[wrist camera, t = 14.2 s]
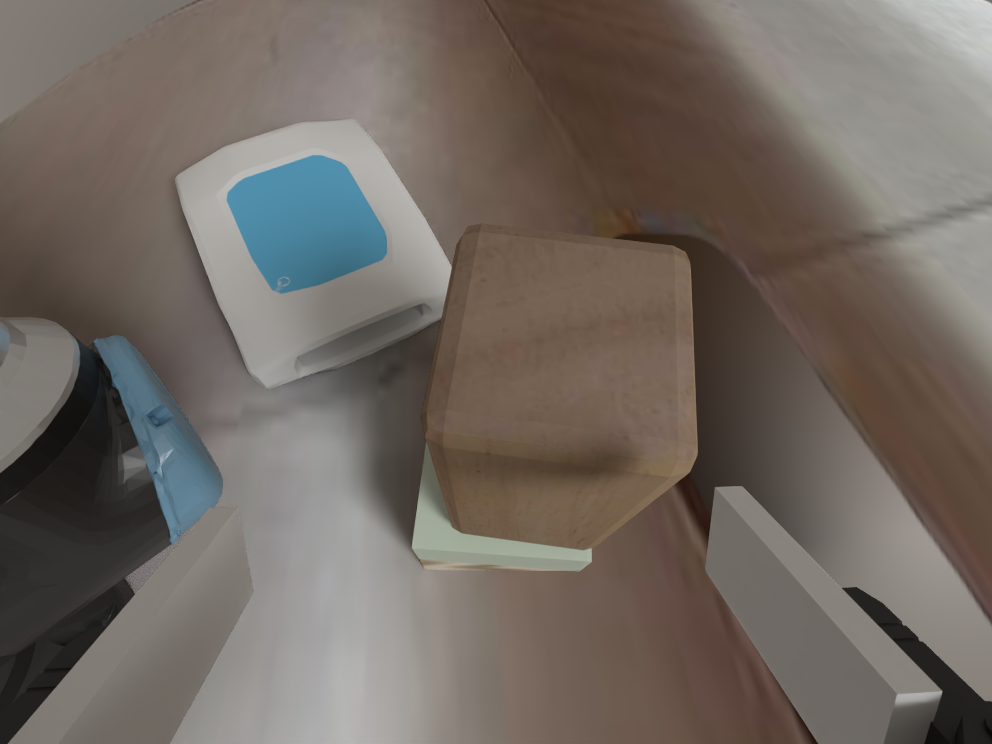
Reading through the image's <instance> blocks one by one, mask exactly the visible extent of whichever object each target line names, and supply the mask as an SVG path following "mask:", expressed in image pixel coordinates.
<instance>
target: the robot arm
mask: <svg viewBox="0 0 992 744" xmlns="http://www.w3.org/2000/svg"><path fill="white" fill-rule="evenodd" d="M222 488H223V479H222V475H221V473H220V471H219V469H218V467H217V465H216V463H215V462H214V460H213V458H212V456H211V455H210V453H209V451H208V450H207V448H206V446H205V445H204V443H203V442H202V440H201V438H200V437H199V435H198V434H197V432H196V431H195V429H194V428H193V426H192V425H191V423H190V422H189V420H188V419H187V417H186V416H185V414H184V413H183V411H182V410H181V408H180V407H179V405H178V404H177V403H176V401H175V400H174V398H173V397H172V396H171V394H170V393H169V391H168V390H167V388H166V387H165V386H164V384H163V383H162V381H161V380H160V379H159V377H158V376H157V374H156V373H155V372H154V370H153V369H152V368H151V366H150V365H149V364H148V362H147V361H146V360H145V359H144V357H143V356H142V355H141V353H140V352H139V351H138V350H137V349H136V348H135V346H134V345H133V344H131V343H130V342H129V341H128V339H126V338H125V337H123V336H121V335H112V336H109V337H106V338H100V339H98V338H97V339H96V340H94V341H93V343H92V344H91V345H90V346H89V347H88V348H87V347H86V346H85V345H84V344H82V343H81V342H80V341H79V340H78V339H77V338H76V337H74V336H73V335H72V334H71V333H70V332H69V331H67V330H66V329H65V328H63V327H62V326H60V325H59V324H57V323H56V322H53V321H50V320H47V319H43V318H35V317H0V744H170V742H171V740H172V738H173V737H174V735H175V733H176V731H177V729H178V727H179V726H180V724H181V722H182V720H183V718H184V717H185V715H186V713H187V711H188V709H189V708H190V706H191V704H192V702H193V700H194V699H195V697H196V695H197V693H198V691H199V689H200V688H201V686H202V684H203V682H204V680H205V679H206V677H207V675H208V673H209V671H210V670H211V668H212V666H213V664H214V662H215V661H216V659H217V657H218V655H219V653H220V652H221V650H222V648H223V646H224V644H225V642H226V641H227V639H228V637H229V635H230V633H231V632H232V630H233V628H234V626H235V624H236V623H237V621H238V619H239V617H240V615H241V614H242V612H243V610H244V608H245V606H246V604H247V603H248V601H249V599H250V597H251V595H252V594H253V592H254V591H253V586H252V580H251V575H250V569H249V564H248V558H247V553H246V547H245V542H244V537H243V531H242V526H241V520H240V515H239V509H238V507H219V508H214V507H215V505H216V504H217V503H218V500H219V498H220V497H221V494H222ZM196 522H197V523H196ZM195 523H196V524H195ZM193 524H195V525H194V526H193V527H192V528H191V530H190V531H189V532H188V533H187V534H186V535H185V537H184V538H183V539H182V540H181V541H180V543H179V544H178V545H177V546H176V547H175V548H174V550H173V551H172V552H171V553H170V554H169V555H168V557H167V558H166V559H165V560H164V561H163V562H162V564H161V565H160V566H159V567H158V568H157V569H156V571H155V572H154V573H153V574H152V575H151V576H150V578H149V579H148V580H147V581H146V582H145V584H144V585H143V586H142V587H141V588H140V589H139V591H138V592H137V593H136V594H135V595H134V594H133V592H132V590H131V589H130V587H129V586H128V585H127V583H126V582H125V581H124V580H123V578H125V577H126V576H128V575H129V574H130V573H132V572H133V571H135V570H136V569H137V568H139V567H140V566H142V565H143V564H144V563H146V562H147V561H149V560H150V559H151V558H153V557H154V556H155V555H157V554H158V553H160V552H161V551H162V550H164V549H165V548H167V547H168V546H169V545H173V544H174V543H175V542H177V541H178V540H179V538H180V535H181V534H183V533H184V532H185V531H186V530H187V529H189V528H190V527H191V526H192V525H193ZM705 570H706V572H707V574H708V575H709V577H710V578H711V580H712V581H713V583H714V584H715V586H716V587H717V589H718V590H719V592H720V593H721V595H722V597H723V598H724V600H725V601H726V603H727V604H728V606H729V607H730V609H731V610H732V612H733V613H734V615H735V616H736V618H737V620H738V621H739V623H740V624H741V626H742V627H743V629H744V630H745V632H746V633H747V635H748V636H749V638H750V639H751V641H752V643H753V644H754V646H755V647H756V649H757V650H758V652H759V653H760V655H761V656H762V658H763V659H764V661H765V662H766V664H767V666H768V667H769V669H770V670H771V672H772V673H773V675H774V676H775V678H776V679H777V681H778V682H779V684H780V685H781V687H782V689H783V690H784V692H785V693H786V695H787V696H788V698H789V699H790V701H791V702H792V704H793V705H794V707H795V708H796V710H797V712H798V713H799V715H800V716H801V718H802V719H803V721H804V722H805V724H806V725H807V727H808V728H809V730H810V731H811V733H812V735H813V736H814V738H815V739H816V741H817V742H818V744H992V702H991V701H984V700H983V699H982V698H981V697H980V696H979V695H978V694H977V693H976V692H975V691H974V690H973V689H972V688H971V687H969V686H968V685H967V684H966V683H965V682H964V681H963V680H962V679H961V678H960V677H959V676H958V675H957V674H956V673H955V672H954V671H953V670H952V669H951V668H950V667H948V665H946V664H945V663H944V662H943V661H942V660H941V659H940V658H939V657H938V656H937V655H936V654H935V653H934V652H933V651H932V650H931V649H930V648H929V647H928V646H927V645H926V644H925V643H923V642H920V641H919V639H918V637H917V636H916V635H915V634H914V633H913V632H912V631H911V630H910V629H909V628H908V627H907V626H903V625H902V621H901V620H899V618H897V617H896V616H895V615H894V614H893V613H892V612H891V611H890V610H889V609H888V608H887V607H886V606H885V605H884V604H883V603H881V602H880V601H878V600H877V599H875V598H873V597H871V596H870V595H868V594H867V593H865V592H864V591H862V590H860V589H859V588H857V587H852V588H841V587H840V586H839V585H838V584H837V583H836V582H835V581H834V580H833V579H832V578H831V577H830V576H829V575H828V574H827V573H826V572H825V571H824V570H823V569H822V568H821V567H820V566H819V565H818V564H817V563H816V561H815V560H814V559H813V558H812V557H811V556H810V555H809V554H808V553H807V552H806V551H805V550H804V549H803V548H802V547H801V546H800V545H799V544H798V543H797V542H796V541H795V540H794V539H793V538H792V537H791V536H790V535H789V534H788V533H787V532H786V531H785V530H784V529H783V528H782V527H781V526H780V525H779V524H778V523H777V522H776V521H775V520H774V519H773V518H772V516H771V515H770V514H769V513H768V512H767V511H766V510H765V509H764V508H763V507H761V505H760V504H759V503H758V502H757V501H756V500H755V499H754V498H753V497H752V496H751V495H750V494H749V493H748V492H747V491H746V490H745V489H744V488H743V487H742V486H733V487H715V493H714V502H713V510H712V518H711V526H710V534H709V543H708V551H707V559H706V568H705Z"/></svg>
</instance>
